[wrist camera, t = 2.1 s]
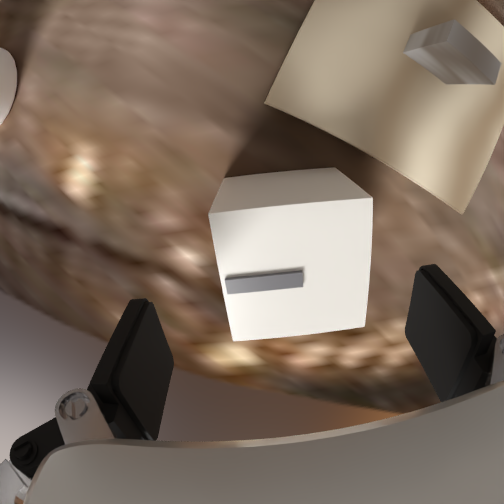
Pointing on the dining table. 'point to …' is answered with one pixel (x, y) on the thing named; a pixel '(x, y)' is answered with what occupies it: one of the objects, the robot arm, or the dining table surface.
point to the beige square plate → (402, 86)
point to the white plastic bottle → (7, 83)
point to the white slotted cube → (292, 252)
